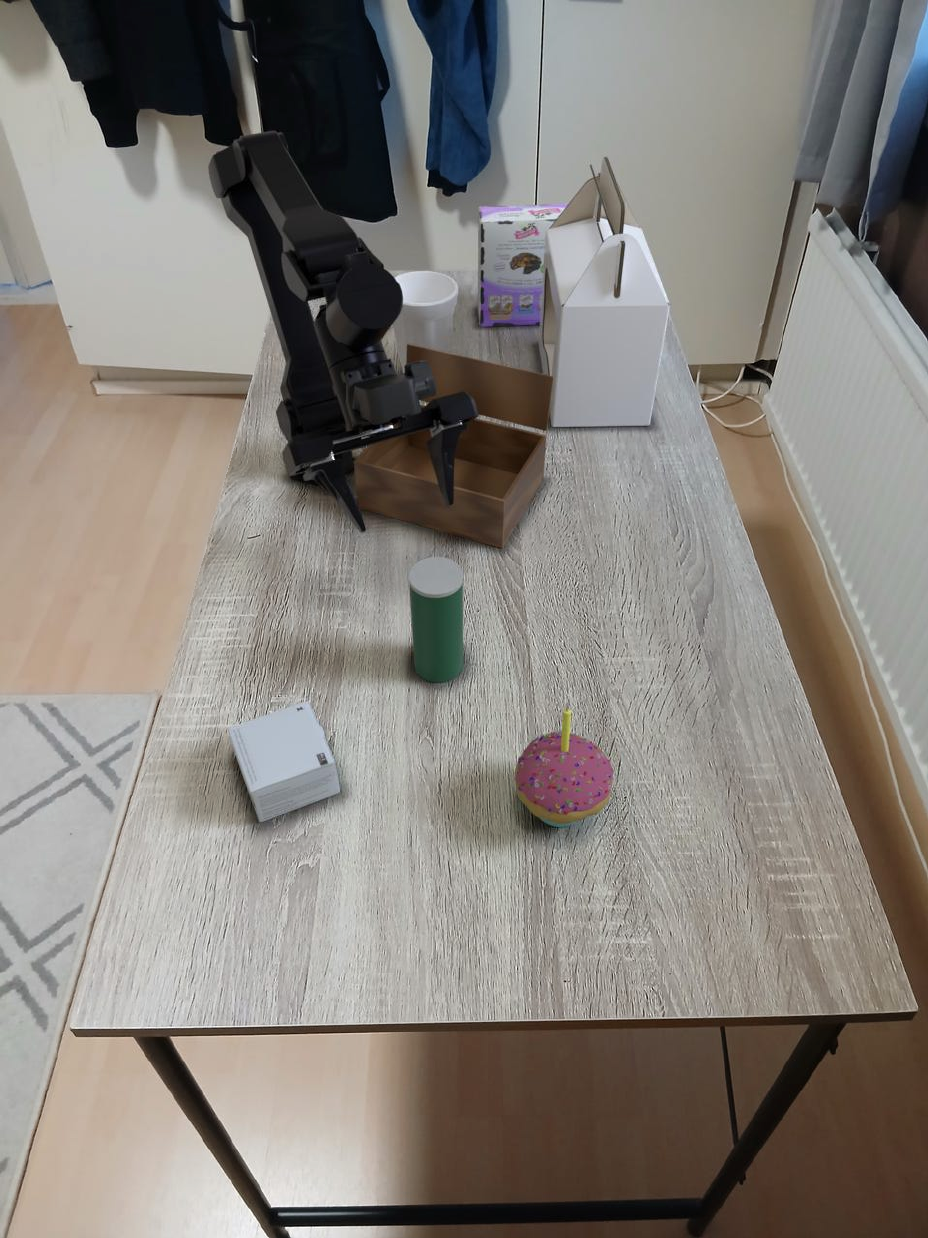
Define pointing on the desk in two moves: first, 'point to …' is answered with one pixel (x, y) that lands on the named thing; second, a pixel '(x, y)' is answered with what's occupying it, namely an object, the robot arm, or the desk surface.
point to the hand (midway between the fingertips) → (407, 518)
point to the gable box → (601, 311)
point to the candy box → (512, 262)
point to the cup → (425, 311)
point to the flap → (490, 386)
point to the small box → (284, 760)
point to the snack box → (456, 481)
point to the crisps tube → (437, 618)
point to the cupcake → (563, 777)
